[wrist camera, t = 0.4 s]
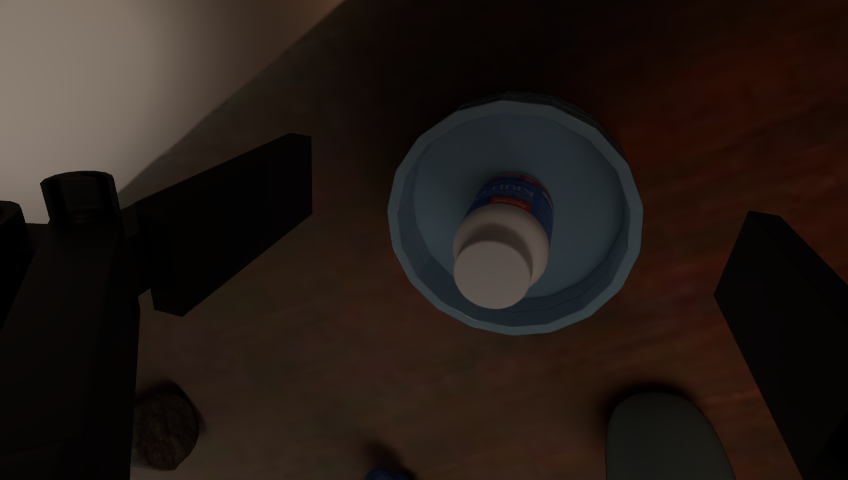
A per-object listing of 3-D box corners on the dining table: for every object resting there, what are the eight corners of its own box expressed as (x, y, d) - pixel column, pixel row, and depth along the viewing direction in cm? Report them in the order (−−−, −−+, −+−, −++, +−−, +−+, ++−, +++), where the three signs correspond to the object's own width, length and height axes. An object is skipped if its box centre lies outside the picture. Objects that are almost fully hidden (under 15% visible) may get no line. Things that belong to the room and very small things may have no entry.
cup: (710, 372, 35) (756, 492, 26) (714, 454, 38) (757, 588, 29) (595, 375, 38) (602, 485, 29) (606, 452, 41) (616, 574, 32)
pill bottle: (542, 161, 32) (532, 216, 23) (562, 235, 34) (560, 312, 25) (463, 182, 34) (427, 240, 25) (486, 251, 36) (459, 327, 27)
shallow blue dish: (410, 78, 32) (391, 87, 29) (665, 106, 29) (678, 119, 26) (400, 282, 39) (383, 309, 35) (605, 322, 36) (609, 356, 32)
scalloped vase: (64, 439, 66) (228, 383, 57) (26, 529, 58) (207, 479, 50) (-23, 410, 58) (151, 342, 50) (-78, 509, 51) (114, 448, 43)
